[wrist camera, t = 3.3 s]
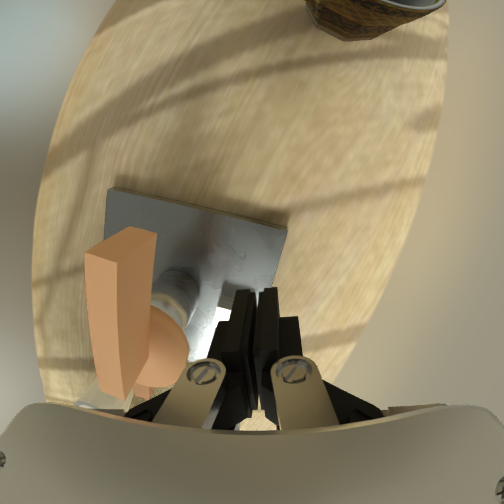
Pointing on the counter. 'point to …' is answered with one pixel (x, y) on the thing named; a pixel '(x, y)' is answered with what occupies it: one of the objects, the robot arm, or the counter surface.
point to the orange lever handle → (130, 318)
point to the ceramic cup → (366, 16)
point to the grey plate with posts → (198, 258)
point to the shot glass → (102, 399)
